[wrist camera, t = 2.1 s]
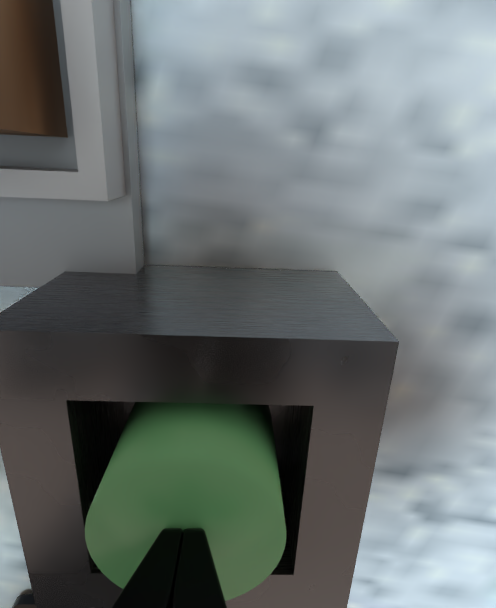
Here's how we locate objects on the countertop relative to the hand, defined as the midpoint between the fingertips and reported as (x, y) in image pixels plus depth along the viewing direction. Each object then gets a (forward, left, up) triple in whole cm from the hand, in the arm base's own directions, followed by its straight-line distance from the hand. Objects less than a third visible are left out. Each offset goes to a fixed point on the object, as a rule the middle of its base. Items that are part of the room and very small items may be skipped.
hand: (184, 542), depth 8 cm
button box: (0, 0, -6) cm, 6 cm away
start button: (0, 0, -3) cm, 3 cm away
